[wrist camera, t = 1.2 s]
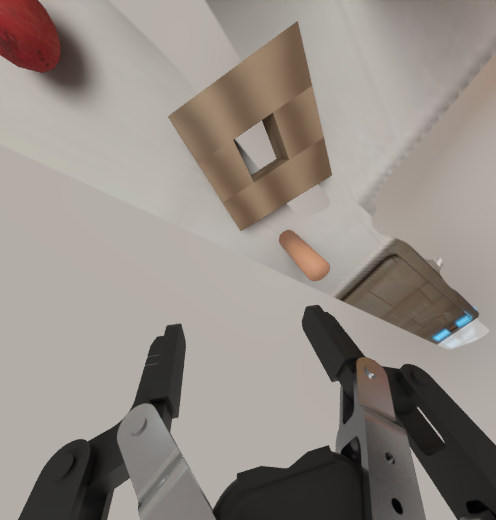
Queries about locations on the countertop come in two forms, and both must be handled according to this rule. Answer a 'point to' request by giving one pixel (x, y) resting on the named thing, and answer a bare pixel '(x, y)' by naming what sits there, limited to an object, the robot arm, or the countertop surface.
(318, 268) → the peg
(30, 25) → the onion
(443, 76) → the countertop surface
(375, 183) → the countertop surface
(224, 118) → the socket block
